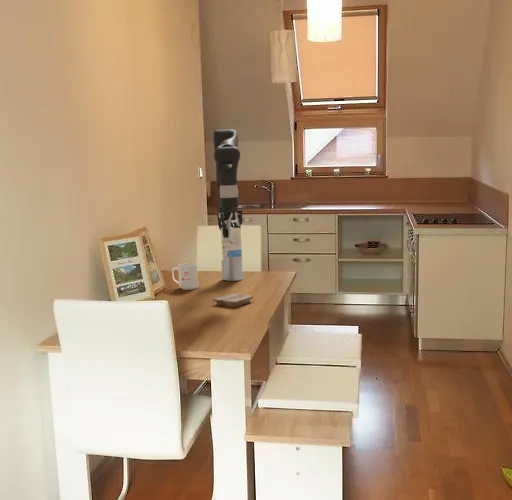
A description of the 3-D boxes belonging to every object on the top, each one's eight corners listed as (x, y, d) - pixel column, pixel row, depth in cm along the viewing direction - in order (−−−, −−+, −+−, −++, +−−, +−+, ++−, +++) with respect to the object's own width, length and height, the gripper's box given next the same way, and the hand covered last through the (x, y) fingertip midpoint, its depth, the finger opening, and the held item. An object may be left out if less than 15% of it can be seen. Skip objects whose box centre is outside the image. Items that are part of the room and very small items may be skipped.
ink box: (242, 256, 279) (240, 220, 277) (232, 257, 276) (230, 222, 274) (232, 254, 286) (230, 219, 284) (221, 255, 283) (219, 220, 281)
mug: (199, 285, 321) (198, 262, 319) (197, 290, 312) (195, 266, 310) (174, 286, 321) (173, 263, 320) (171, 290, 313) (169, 267, 311)
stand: (213, 304, 283) (213, 299, 283) (230, 298, 293) (230, 293, 292) (236, 308, 276) (235, 302, 276) (253, 301, 286) (253, 295, 285)
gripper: (225, 197, 269) (227, 239, 272) (247, 194, 281) (248, 234, 283) (210, 197, 274) (212, 238, 276) (232, 194, 285) (234, 234, 288)
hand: (231, 236), depth 280 cm, fingers closed on ink box, 6 cm apart
